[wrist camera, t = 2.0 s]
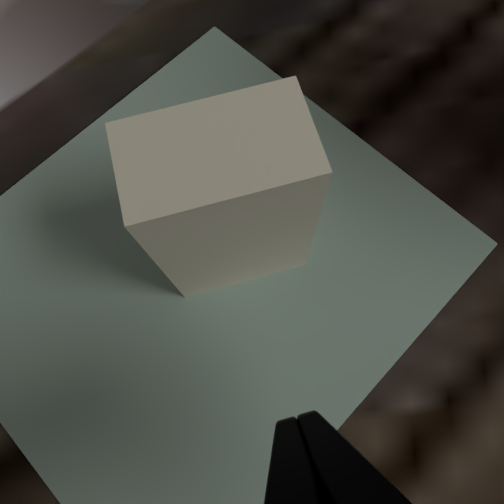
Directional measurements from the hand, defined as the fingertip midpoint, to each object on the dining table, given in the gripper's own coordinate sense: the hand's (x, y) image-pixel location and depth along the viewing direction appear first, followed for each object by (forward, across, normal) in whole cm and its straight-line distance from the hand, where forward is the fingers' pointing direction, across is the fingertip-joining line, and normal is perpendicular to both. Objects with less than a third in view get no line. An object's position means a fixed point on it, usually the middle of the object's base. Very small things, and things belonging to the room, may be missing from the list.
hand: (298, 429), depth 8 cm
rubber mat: (+13, +2, +2) cm, 13 cm away
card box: (+13, 0, +2) cm, 13 cm away
